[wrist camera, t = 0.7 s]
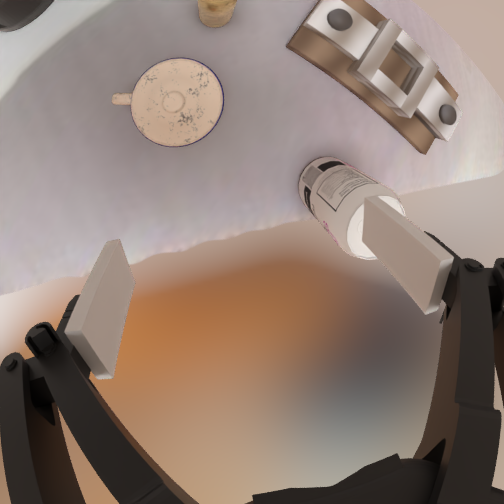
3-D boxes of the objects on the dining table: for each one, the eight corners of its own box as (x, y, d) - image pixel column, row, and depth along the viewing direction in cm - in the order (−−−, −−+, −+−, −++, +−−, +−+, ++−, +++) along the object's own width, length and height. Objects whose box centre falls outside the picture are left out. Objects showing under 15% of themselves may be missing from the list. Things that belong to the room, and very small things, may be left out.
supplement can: (356, 162, 39) (420, 197, 26) (342, 214, 43) (394, 267, 30) (304, 150, 38) (355, 181, 25) (291, 207, 41) (331, 262, 29)
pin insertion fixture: (285, 46, 30) (298, 39, 26) (332, -17, 26) (349, -29, 21) (419, 152, 40) (441, 161, 35) (452, 94, 35) (475, 97, 30)
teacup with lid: (226, 71, 31) (234, 59, 21) (213, 140, 35) (216, 158, 25) (130, 64, 29) (100, 51, 19) (121, 132, 33) (88, 148, 23)
